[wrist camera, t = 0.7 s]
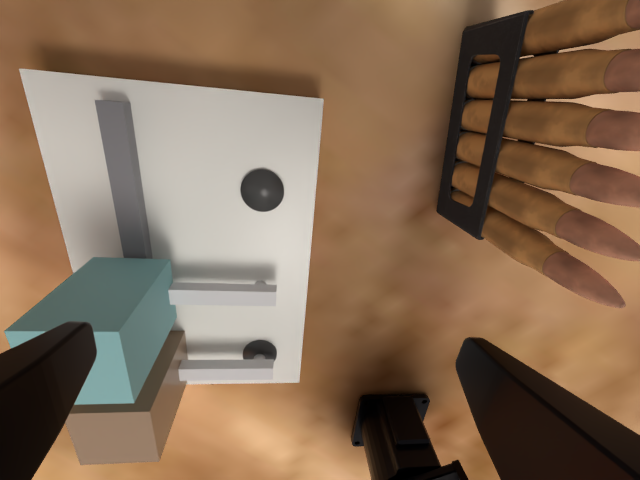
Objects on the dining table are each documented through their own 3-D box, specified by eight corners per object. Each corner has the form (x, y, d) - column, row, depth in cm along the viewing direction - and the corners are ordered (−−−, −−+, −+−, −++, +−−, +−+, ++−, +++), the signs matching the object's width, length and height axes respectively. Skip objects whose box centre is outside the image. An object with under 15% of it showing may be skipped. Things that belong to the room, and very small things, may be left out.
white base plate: (298, 362, 26) (302, 465, 19) (116, 364, 24) (44, 478, 17) (320, 98, 18) (343, 100, 11) (48, 71, 16) (-146, 51, 9)
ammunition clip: (463, 27, 17) (770, -91, 6) (495, 27, 17) (851, -89, 6) (436, 212, 22) (588, 330, 11) (462, 211, 22) (637, 327, 11)
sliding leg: (275, 312, 21) (271, 400, 15) (111, 309, 19) (34, 405, 13) (277, 258, 19) (273, 332, 13) (99, 252, 18) (4, 331, 12)
